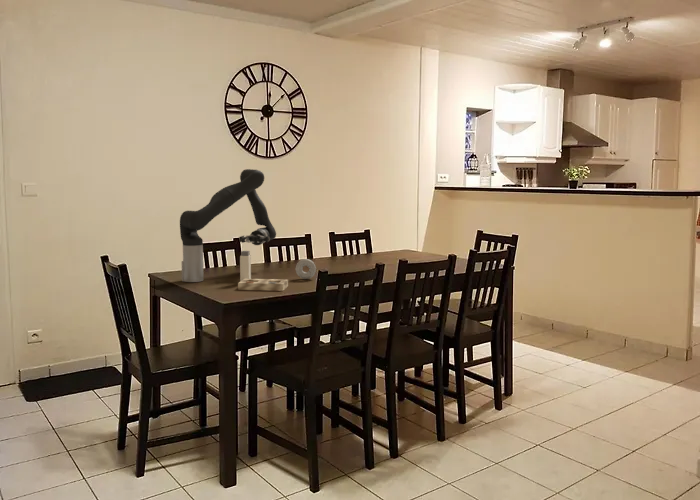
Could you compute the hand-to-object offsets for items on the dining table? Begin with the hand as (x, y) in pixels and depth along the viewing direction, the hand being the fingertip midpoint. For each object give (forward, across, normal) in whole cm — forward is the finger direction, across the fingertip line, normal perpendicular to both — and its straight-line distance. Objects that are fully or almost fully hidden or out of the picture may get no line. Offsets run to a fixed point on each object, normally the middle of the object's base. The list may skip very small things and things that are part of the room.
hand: (251, 240), depth 303 cm
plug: (+11, 0, +19) cm, 22 cm away
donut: (-4, +26, +19) cm, 32 cm away
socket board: (+23, +11, +19) cm, 31 cm away
